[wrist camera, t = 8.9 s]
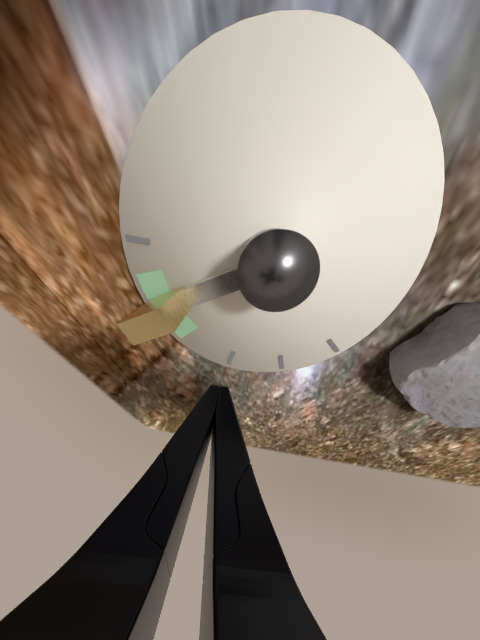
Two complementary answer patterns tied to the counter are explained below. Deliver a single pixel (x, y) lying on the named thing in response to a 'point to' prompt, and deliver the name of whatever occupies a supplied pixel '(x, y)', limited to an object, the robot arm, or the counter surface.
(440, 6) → the counter surface
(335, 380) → the counter surface
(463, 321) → the stone block
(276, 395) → the counter surface
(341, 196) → the dial plate
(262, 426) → the counter surface
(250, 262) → the tuner lever
